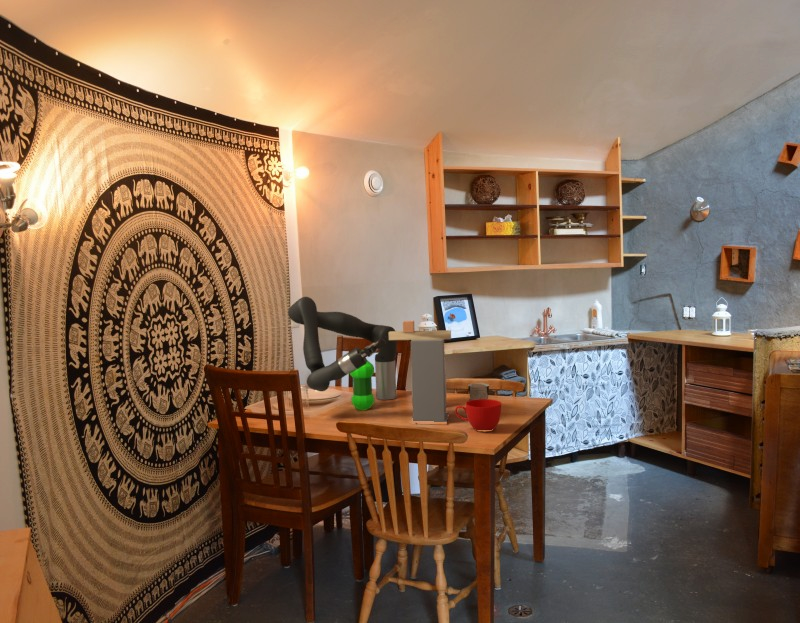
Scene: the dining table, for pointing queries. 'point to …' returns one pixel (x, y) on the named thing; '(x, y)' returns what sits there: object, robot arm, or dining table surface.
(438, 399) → the stand
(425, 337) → the tan wooden bar
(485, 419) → the ceramic cup
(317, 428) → the dining table surface
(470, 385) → the coffee mug
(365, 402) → the plastic bottle
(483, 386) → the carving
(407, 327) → the orange cube
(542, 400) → the dining table surface
